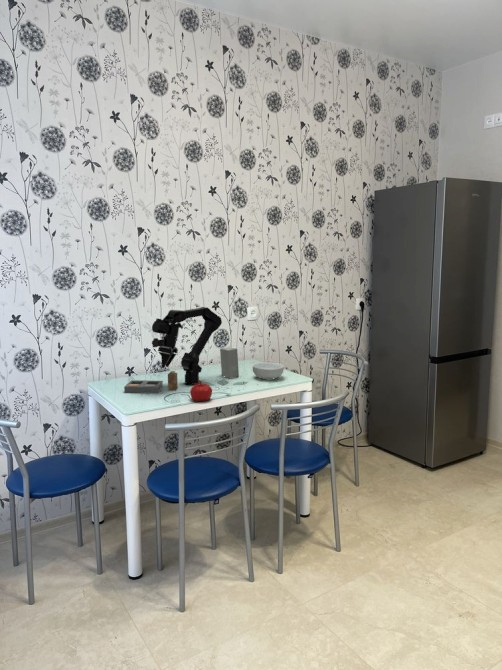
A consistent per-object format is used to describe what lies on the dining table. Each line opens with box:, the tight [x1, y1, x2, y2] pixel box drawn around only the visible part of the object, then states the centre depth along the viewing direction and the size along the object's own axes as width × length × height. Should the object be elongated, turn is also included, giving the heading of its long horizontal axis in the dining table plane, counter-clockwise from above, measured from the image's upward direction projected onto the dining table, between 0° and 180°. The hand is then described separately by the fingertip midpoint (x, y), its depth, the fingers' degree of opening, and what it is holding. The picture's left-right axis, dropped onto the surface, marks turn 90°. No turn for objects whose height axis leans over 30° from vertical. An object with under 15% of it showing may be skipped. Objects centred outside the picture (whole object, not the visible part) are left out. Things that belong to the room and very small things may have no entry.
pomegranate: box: [189, 379, 213, 402], centre depth 231 cm, size 10×10×9 cm
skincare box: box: [219, 346, 240, 379], centre depth 273 cm, size 8×7×16 cm
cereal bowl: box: [252, 361, 285, 380], centre depth 271 cm, size 17×17×7 cm
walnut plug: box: [167, 370, 179, 392], centre depth 247 cm, size 4×4×9 cm
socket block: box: [123, 379, 164, 394], centre depth 247 cm, size 16×12×3 cm
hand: (165, 367), depth 246 cm, fingers open, 9 cm apart
